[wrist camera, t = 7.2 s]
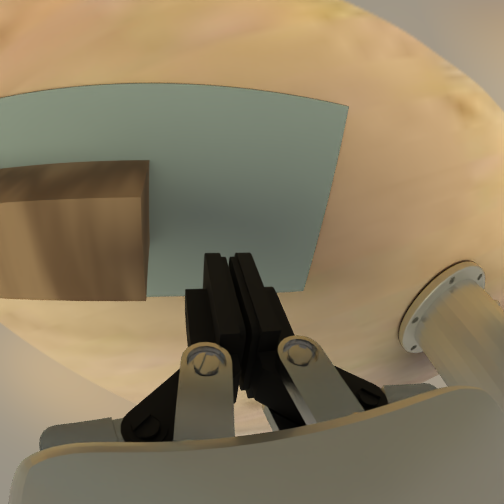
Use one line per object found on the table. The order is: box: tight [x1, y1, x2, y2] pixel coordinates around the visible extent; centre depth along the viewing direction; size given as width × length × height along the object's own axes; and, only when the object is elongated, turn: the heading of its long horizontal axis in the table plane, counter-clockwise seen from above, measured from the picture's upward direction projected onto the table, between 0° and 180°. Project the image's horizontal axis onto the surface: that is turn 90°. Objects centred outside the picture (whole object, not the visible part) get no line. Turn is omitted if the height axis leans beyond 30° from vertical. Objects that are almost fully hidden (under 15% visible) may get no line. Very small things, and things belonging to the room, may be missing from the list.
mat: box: [0, 83, 349, 297], centre depth 17 cm, size 21×13×1 cm, turn 82°
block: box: [0, 160, 150, 301], centre depth 13 cm, size 5×5×10 cm
